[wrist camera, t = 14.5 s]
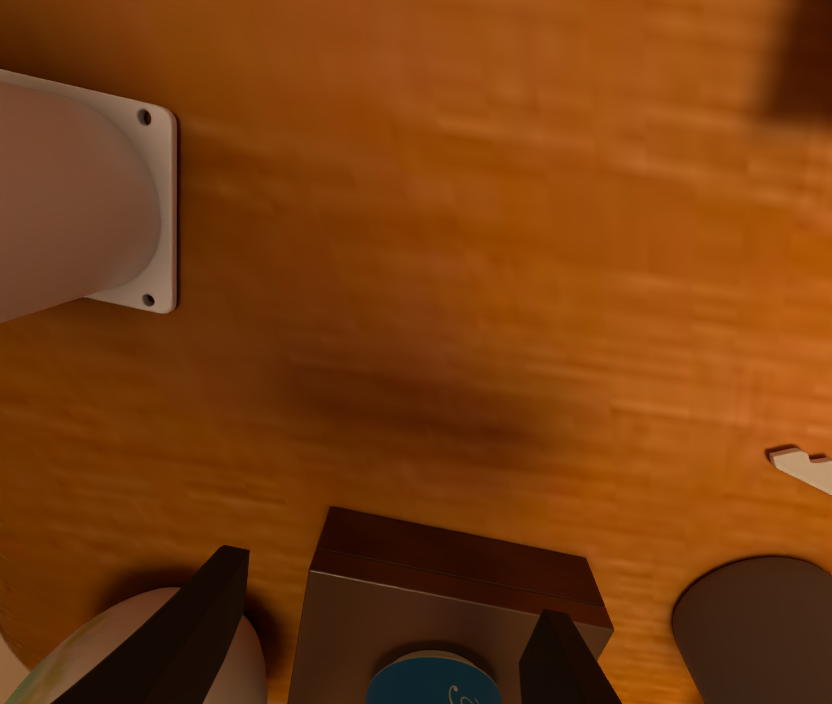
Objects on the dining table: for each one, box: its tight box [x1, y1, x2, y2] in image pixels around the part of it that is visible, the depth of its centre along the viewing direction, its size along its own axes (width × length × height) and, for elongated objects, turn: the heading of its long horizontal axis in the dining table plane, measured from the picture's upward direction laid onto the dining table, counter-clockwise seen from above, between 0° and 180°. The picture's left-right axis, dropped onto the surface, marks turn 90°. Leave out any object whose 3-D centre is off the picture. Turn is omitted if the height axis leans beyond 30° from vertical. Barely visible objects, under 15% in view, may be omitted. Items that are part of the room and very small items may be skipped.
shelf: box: [287, 507, 614, 704], centre depth 23 cm, size 14×12×4 cm
